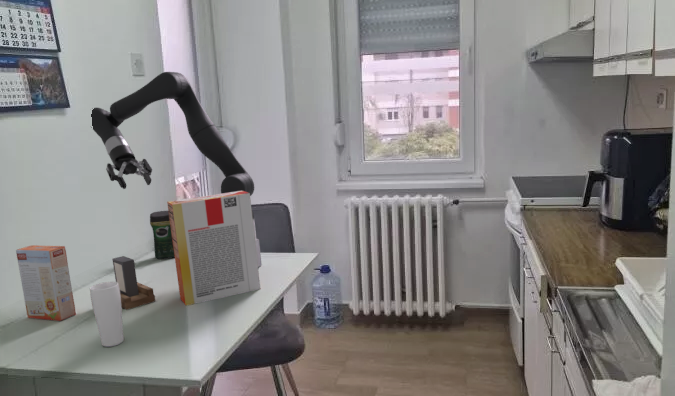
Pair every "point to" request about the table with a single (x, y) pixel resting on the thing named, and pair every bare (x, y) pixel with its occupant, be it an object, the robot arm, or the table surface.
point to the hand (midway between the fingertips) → (137, 185)
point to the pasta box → (214, 246)
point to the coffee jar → (162, 234)
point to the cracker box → (46, 282)
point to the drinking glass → (108, 312)
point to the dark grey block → (125, 275)
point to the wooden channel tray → (138, 297)
